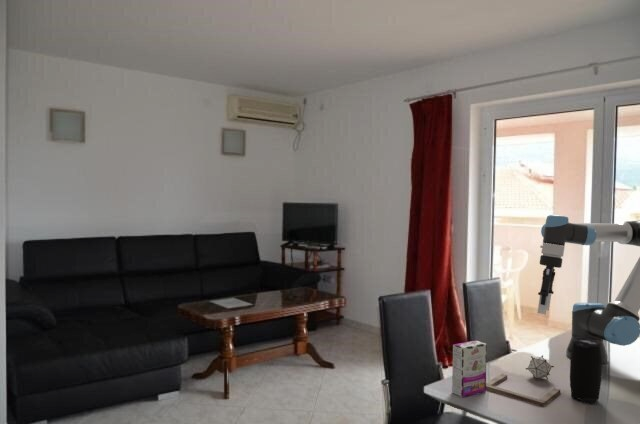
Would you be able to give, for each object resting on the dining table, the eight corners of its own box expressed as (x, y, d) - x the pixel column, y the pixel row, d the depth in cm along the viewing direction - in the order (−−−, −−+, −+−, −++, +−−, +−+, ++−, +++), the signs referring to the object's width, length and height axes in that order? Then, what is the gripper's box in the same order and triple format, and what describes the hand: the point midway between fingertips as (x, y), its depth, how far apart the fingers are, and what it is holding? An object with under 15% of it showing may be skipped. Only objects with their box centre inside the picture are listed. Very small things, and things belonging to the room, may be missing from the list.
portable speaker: (604, 400, 157) (607, 341, 156) (591, 407, 151) (594, 345, 151) (577, 391, 164) (580, 334, 163) (563, 397, 158) (566, 338, 158)
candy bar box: (474, 387, 165) (476, 339, 165) (486, 392, 161) (488, 343, 161) (450, 392, 160) (452, 343, 160) (461, 398, 156) (463, 347, 155)
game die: (544, 390, 174) (558, 374, 168) (521, 379, 176) (534, 363, 170) (544, 371, 181) (557, 355, 175) (522, 361, 183) (534, 345, 177)
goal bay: (501, 377, 176) (501, 373, 176) (560, 393, 162) (560, 389, 162) (482, 388, 164) (482, 384, 164) (543, 406, 151) (543, 403, 151)
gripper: (544, 254, 194) (536, 306, 194) (537, 254, 173) (528, 312, 173) (564, 257, 191) (556, 310, 191) (560, 257, 169) (551, 317, 169)
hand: (543, 311), depth 182 cm, fingers open, 13 cm apart
